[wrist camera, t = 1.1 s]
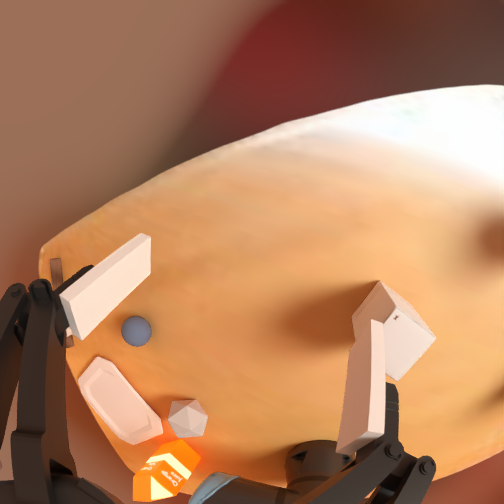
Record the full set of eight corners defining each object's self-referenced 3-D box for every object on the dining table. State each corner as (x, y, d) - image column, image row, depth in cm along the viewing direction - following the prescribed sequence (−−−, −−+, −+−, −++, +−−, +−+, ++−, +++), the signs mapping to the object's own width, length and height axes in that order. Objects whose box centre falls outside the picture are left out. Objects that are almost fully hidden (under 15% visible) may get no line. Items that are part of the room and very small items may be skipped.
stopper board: (74, 345, 61) (67, 348, 59) (70, 343, 62) (63, 346, 59) (60, 258, 58) (53, 259, 56) (56, 257, 58) (49, 259, 56)
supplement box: (349, 316, 41) (354, 354, 28) (379, 278, 39) (397, 304, 27) (383, 341, 39) (396, 383, 27) (412, 305, 37) (438, 338, 25)
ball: (158, 342, 51) (141, 354, 46) (135, 336, 53) (117, 347, 47) (155, 314, 51) (136, 325, 45) (132, 309, 52) (113, 319, 47)
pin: (91, 327, 57) (66, 338, 49) (85, 325, 58) (61, 336, 50) (90, 318, 57) (64, 329, 49) (84, 316, 58) (59, 326, 50)
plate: (78, 380, 64) (73, 383, 62) (107, 346, 57) (101, 350, 55) (132, 443, 62) (128, 447, 60) (174, 425, 55) (170, 430, 53)
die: (173, 389, 53) (154, 426, 47) (186, 390, 47) (166, 432, 41) (204, 406, 55) (187, 441, 49) (221, 408, 49) (203, 449, 43)
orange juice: (202, 457, 54) (164, 511, 35) (181, 462, 57) (145, 510, 38) (180, 437, 55) (137, 490, 36) (161, 443, 57) (120, 489, 38)
